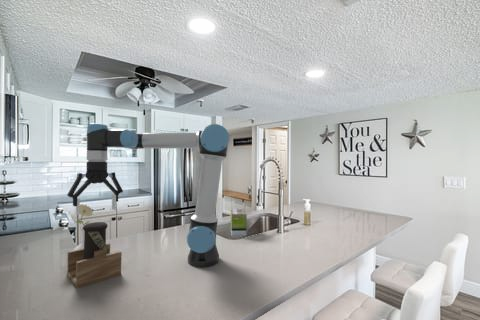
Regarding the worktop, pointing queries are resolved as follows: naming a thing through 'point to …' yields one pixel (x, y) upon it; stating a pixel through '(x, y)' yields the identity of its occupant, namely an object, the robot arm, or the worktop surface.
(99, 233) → the container
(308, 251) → the worktop surface
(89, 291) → the worktop surface
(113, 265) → the holder
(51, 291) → the worktop surface
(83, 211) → the flower in vase
